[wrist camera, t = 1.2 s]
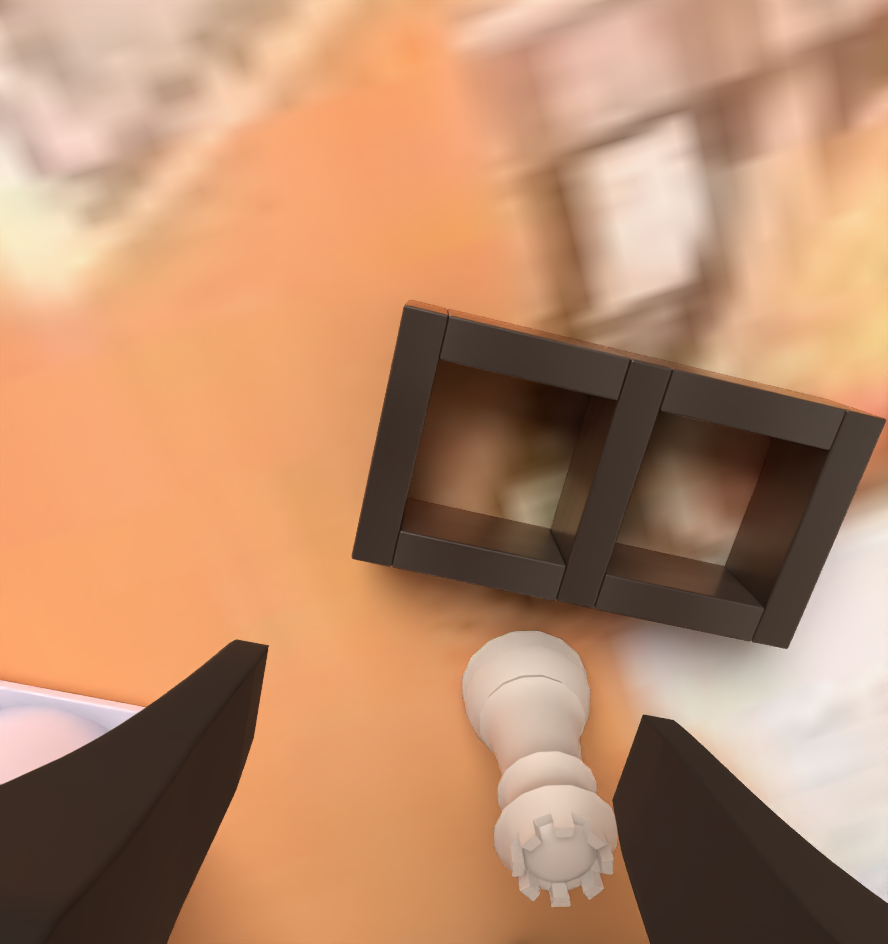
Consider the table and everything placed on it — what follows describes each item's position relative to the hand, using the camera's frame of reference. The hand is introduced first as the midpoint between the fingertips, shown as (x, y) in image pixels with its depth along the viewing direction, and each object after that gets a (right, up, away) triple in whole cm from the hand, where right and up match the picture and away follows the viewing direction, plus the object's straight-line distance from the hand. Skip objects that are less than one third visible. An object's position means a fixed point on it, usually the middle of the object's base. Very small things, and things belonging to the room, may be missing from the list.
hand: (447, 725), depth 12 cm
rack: (+5, +5, +9) cm, 12 cm away
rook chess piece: (+3, -3, +12) cm, 12 cm away
